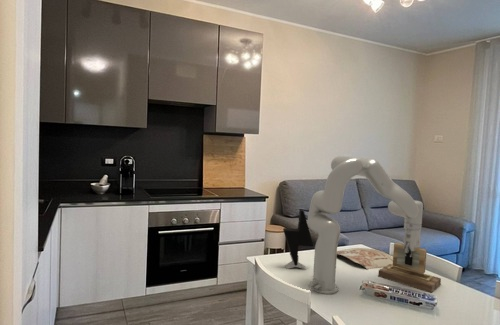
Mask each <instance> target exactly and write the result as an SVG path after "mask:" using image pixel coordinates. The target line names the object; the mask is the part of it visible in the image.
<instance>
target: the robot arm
mask: <svg viewBox="0 0 500 325" xmlns="http://www.w3.org/2000/svg"><path fill="white" fill-rule="evenodd" d="M330 168H331V171H330V172H329V174H328V175H327V178H326V182H325V185H324V189H323V190H321V189H320V190H318V191H316V192H315V193H314V194H313V195H312V198H311V201H310V205H309V210H308V216H307V220H306V221H307V224H308V228H309V231H310V232H312V233H313V234H314V235H317V238H316V241H315V245H314V258H313V259H314V260H313V274H312V275H313V276H312V281H309V283H308V284H307V288H308V289H310V290H312V291H314V292H317V293H318V294H326V295H330V294H331V295H332V294H337V292H338V291H339V286H338V284H337V283H336V271H337V258H338V257H337V256H338V254H337V251H338V244H339V239H340V235H341V226H340V224H339V221H337V220H336V219H334V218H332V217H330V216H328V215H332V216H333V215H338V214H339V213H340V211H341V209H342V207H343V201H344V194H345V190H346V186H347V184H348V182H350V180H351V179H352V178H353V177H355V176H360V177H364V178H366V179H367V181H368V182H369V183H370V184H371V186H372V187H373V188H374V190H375V191H376V192H377V193H378V194H380V195H381V196H383V197H384V198H386V199H389V200H390V201H389V203H388V204H387V209H388V212H390V213H391V214H393V215H395V216H398V217H402V218H404V223H403V229H404V230H405V231H404V235H403V236H404V237H403V243H402V244H403V248H404V250H405V264H407V265H410V266H411V265H412V259H413V257H412V251H413V252H414V251H416V249H417V248H421V231H422V226H423V225H422V224H423V211H424V210H423V209H424V203H423V202H422V201H420V200H415V199H414V198H413V197H412V196H411V195H410V193H408V192H407V191H406V190H405V189H404V188H402V187H401V186H399V184H397V183H395V182H394V181H393V180H392V178H391V177H390V176H389V174H388V172H387V171H386V170H385V169H384V167H383V166H382V164H381V162H379V161H378V160H377V159H374V158H364V157H355V156H344V155H343V156H341V155H339V156H335V157H334V158H333V159H332V161H331V162H330ZM409 249H410V250H409Z"/></svg>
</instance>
